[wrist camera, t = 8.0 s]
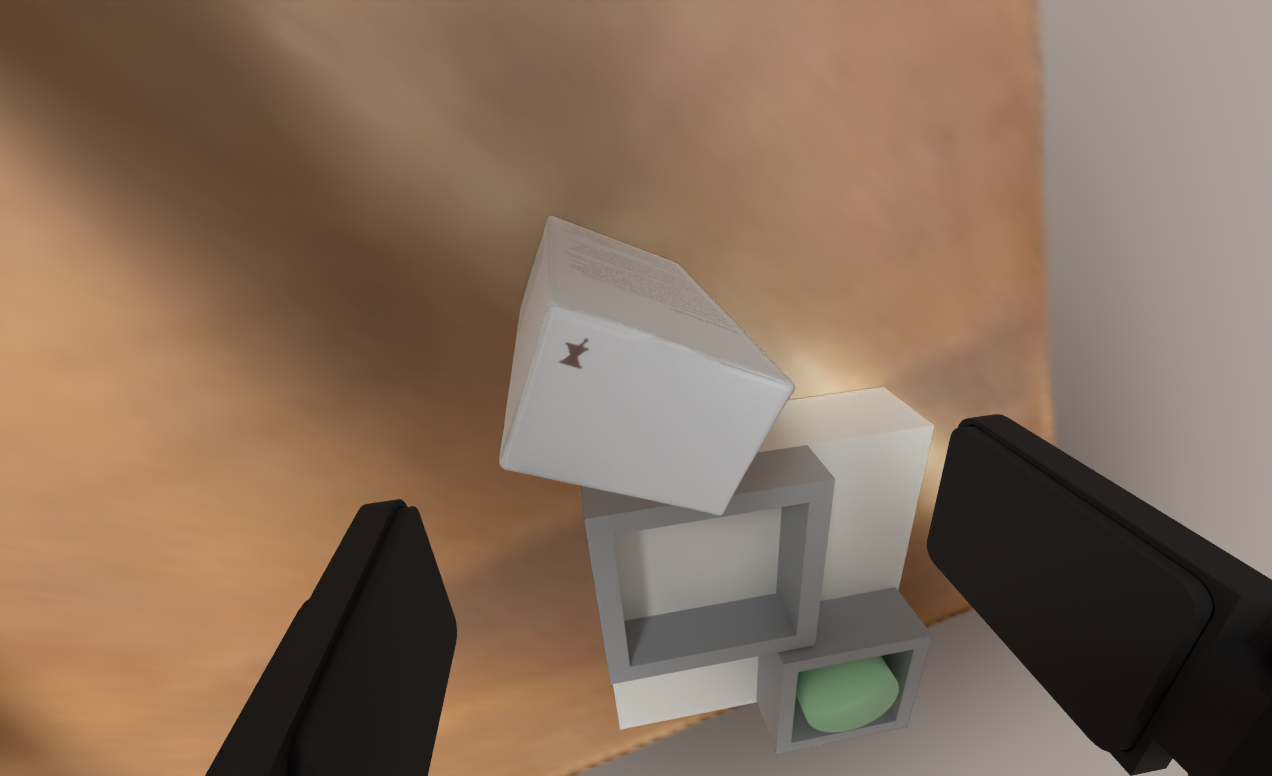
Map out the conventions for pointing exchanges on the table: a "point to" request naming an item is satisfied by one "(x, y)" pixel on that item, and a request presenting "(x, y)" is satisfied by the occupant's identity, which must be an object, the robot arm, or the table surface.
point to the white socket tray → (769, 573)
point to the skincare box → (633, 377)
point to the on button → (846, 694)
